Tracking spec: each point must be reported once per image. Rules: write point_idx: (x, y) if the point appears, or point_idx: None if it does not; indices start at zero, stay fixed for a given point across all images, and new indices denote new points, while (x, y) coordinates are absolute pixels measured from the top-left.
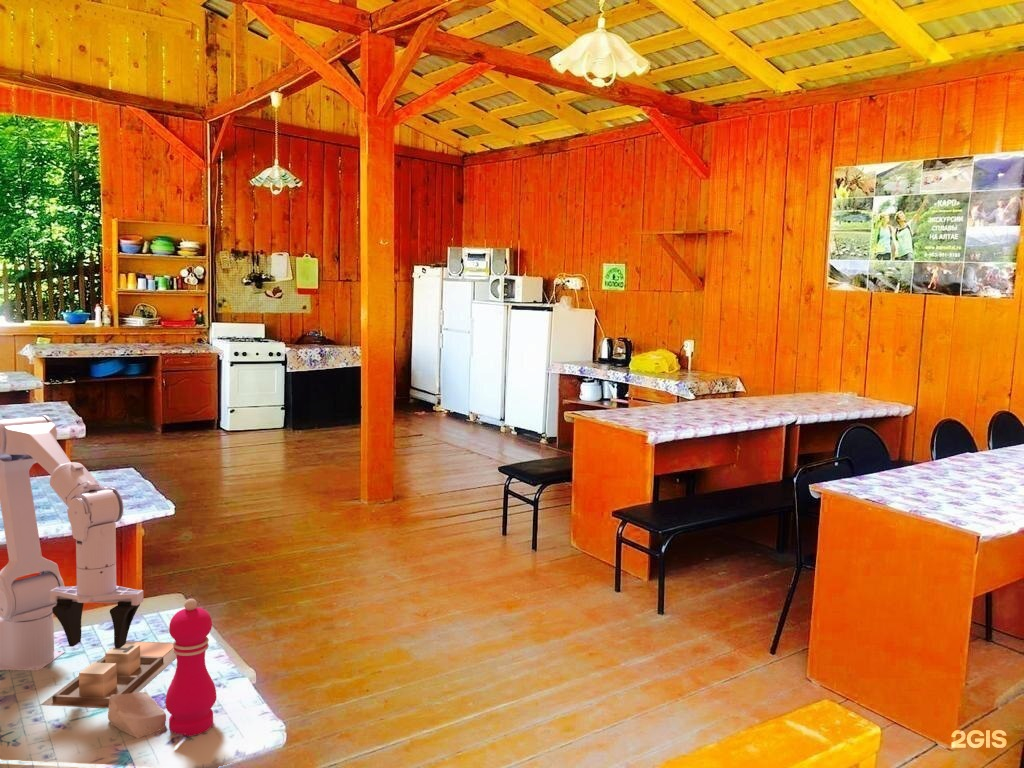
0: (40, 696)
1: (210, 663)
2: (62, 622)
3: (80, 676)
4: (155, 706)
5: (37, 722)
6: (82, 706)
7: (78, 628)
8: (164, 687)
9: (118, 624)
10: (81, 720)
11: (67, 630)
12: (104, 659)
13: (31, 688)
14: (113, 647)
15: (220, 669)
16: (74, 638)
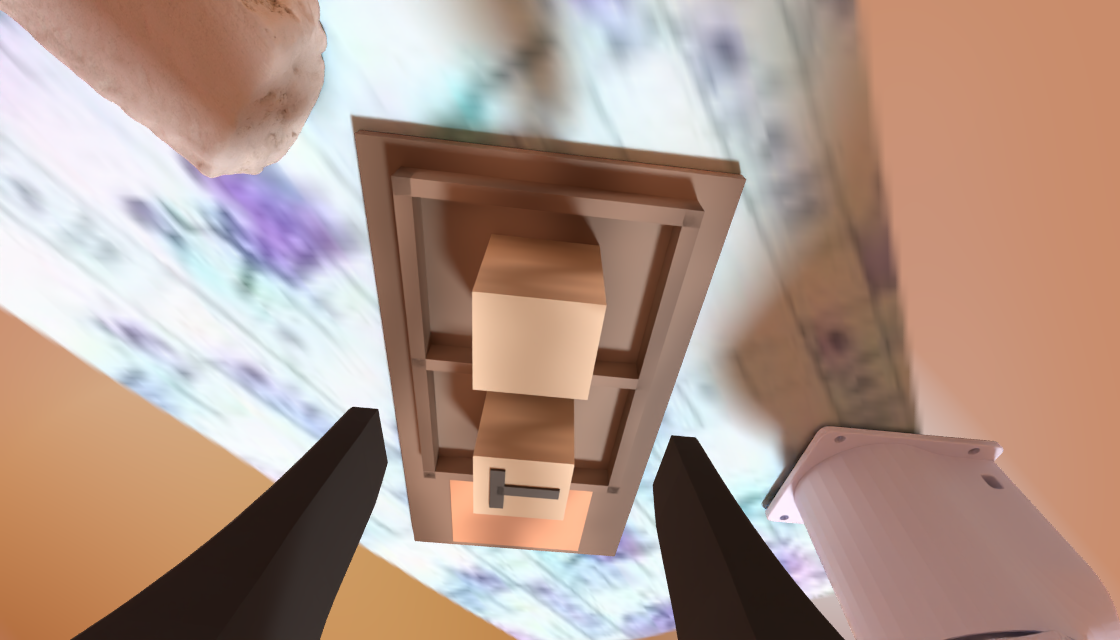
0: (769, 272)
1: (289, 457)
2: (811, 627)
3: (597, 294)
4: (19, 6)
5: (711, 16)
6: (544, 156)
7: (676, 570)
8: (322, 324)
9: (185, 586)
10: (495, 35)
11: (737, 542)
12: (613, 469)
13: (819, 331)
14: (565, 499)
15: (225, 426)
16: (676, 489)
